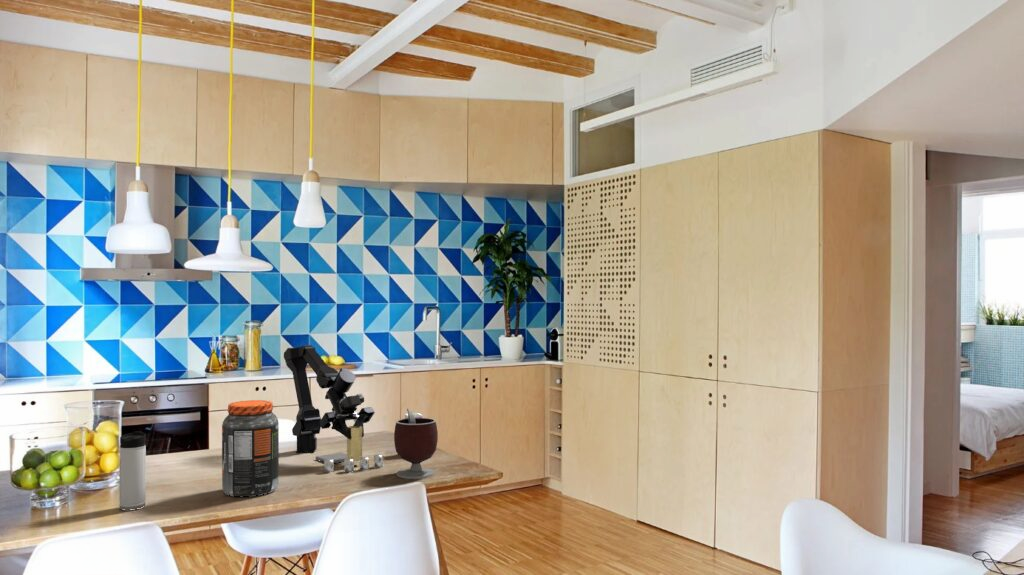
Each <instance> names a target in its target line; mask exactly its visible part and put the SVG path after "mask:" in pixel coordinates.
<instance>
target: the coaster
mask: <svg viewBox="0 0 1024 575" xmlns="http://www.w3.org/2000/svg"><path fill="white" fill-rule="evenodd" d="M316 459H317V460H320V461H319V462H321V461H323V462H322V463H324V460H325V459H334V463H337V464H339V463H338V462H343V463H344V459H347V453H344V452H341V451H340V452H335V453H329V454H328V453H327V454H324V455H318V456H315V460H316ZM317 460H316V461H317Z"/></svg>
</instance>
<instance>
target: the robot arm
mask: <svg viewBox="0 0 1024 575" xmlns="http://www.w3.org/2000/svg"><path fill="white" fill-rule="evenodd" d="M283 358H284V361H285V364H286V366H287V368H288V369H289V370H290V371H291V372H292V377H293V378H292V379H293V383H294V387H295V394H296V398H297V404H298V411H297V414H296V416H295V417H296V418H295V420H296V422H295V424H294V425H293V427H292V429H291V431H292V436H296V450H295V454H297V453H304V454H305V453H307V452H310V453H315V452H316V450H317V448H318V437H316V435H319V434H320V433H321V429H322V430H323V429H330V427H331V430H335V431H336V432H338V433H340V434H341V435H342V436H344V437H346V439H347V438H348V439H351V438H352V437H351V434H350V431H349V429H348V427H349V426H347V422H346V421H353V422H354V424H353V425H352V426H362V438H364V436H365V433H364V432H365V431H364V424H367V423H369V422H370V421H371V419H372V418H373V416H374V415H375V413H376V412H375V411H374V408H373V407H368V406H367V407H362V408H360V410H359V412H356V411H357V410H358V406H361V405H362V404H363V403H364V402H365V396H364V395H363V394H362V393H357V394H355V395H350V396H348V395H347V394H346V393H347V392H349V391H350V389H351V388H352V386H353V384H354V383H355V381H356V380H357V377H356V374H355V373H353V372H352V371H350V370H348V369H347V367H341V368H340V369H339V371H337V369H335V367H331V366H329V365H328V364H327V363H326V361H325V360H324V359H323V358H322V356H321V355H320V354H319V353H318V351H316V347H315V345H311V344H307V345H306V344H305V345H301V346H297V347H287V348H286V350H284V352H283ZM307 365H309V367H310V368H311V369H312V370H313V372H314V373H315V375H316V378H315V380H316V383H317V384H318V387H319V388H320V389H322V390H323V389H324V390H325V389H328V390H327V391H326V394H325V396H324V399H325V400H329V402H330V404H331V406H332V408H331V411H329V412H327V411H326V412H324V415H323V416H322V417H321V414H320V409H319V408H315V406H314V405H313V401H312V394H311V391H310V385H309V380H308V374H307ZM331 424H332V426H331ZM307 454H308V453H307Z"/></svg>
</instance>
